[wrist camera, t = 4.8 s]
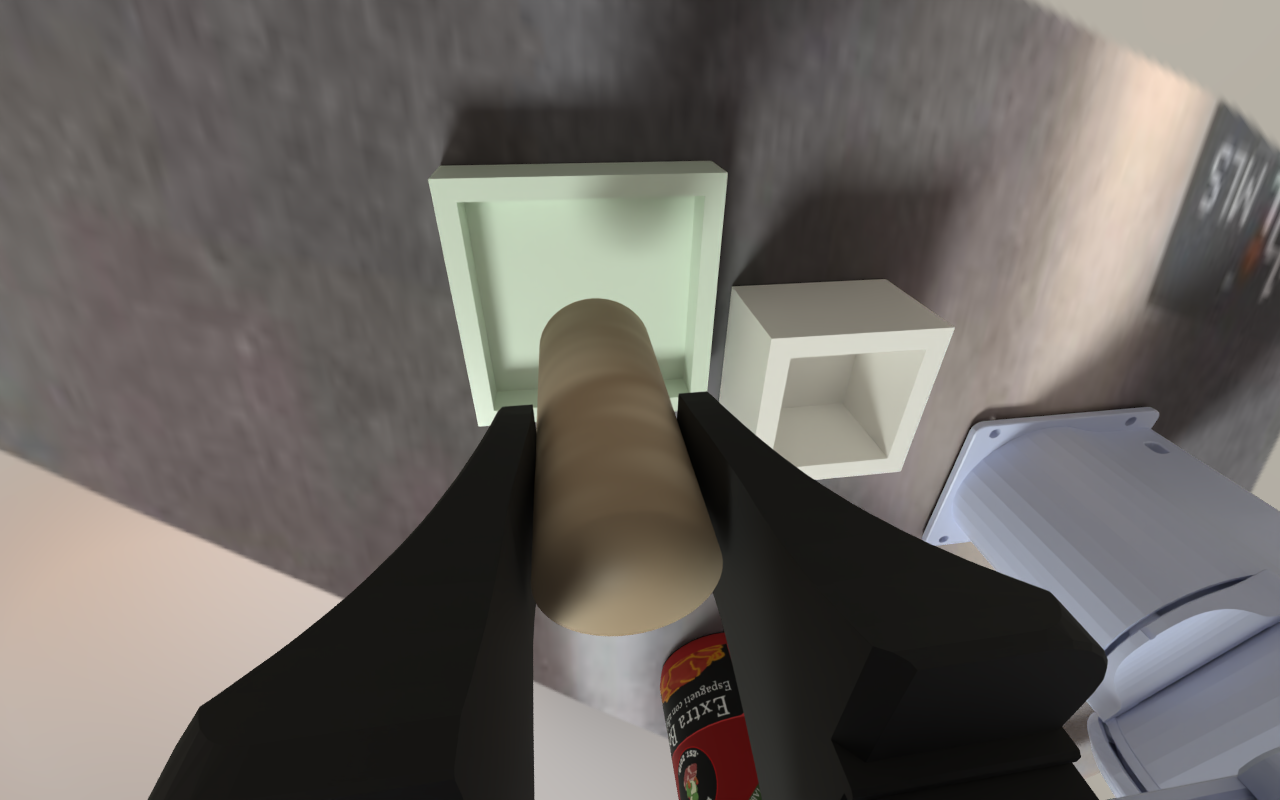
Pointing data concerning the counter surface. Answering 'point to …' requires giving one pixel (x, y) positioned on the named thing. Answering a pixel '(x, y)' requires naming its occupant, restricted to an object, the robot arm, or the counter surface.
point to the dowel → (613, 482)
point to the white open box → (832, 371)
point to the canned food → (707, 723)
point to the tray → (579, 262)
